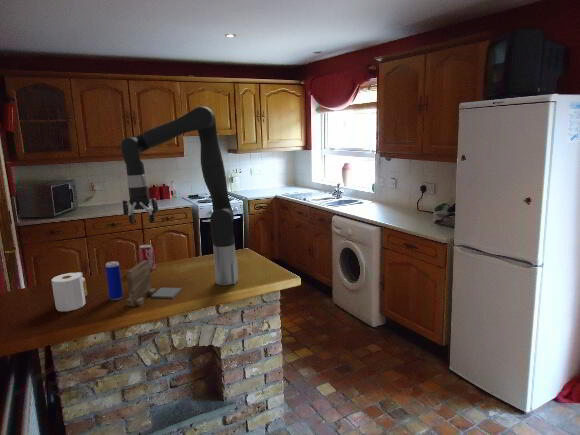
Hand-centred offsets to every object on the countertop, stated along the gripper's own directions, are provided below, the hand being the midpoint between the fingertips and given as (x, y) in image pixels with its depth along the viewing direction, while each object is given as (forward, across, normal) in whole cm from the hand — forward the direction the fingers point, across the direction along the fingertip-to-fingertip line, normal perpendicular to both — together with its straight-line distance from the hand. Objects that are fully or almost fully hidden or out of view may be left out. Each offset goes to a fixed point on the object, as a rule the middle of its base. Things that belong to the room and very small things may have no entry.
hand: (142, 223), depth 181 cm
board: (+28, -2, +15) cm, 32 cm away
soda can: (+27, +9, -21) cm, 36 cm away
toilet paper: (+28, +23, +22) cm, 42 cm away
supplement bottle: (+27, +25, +12) cm, 39 cm away
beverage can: (+28, +9, +14) cm, 33 cm away
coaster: (+28, -11, +10) cm, 32 cm away
